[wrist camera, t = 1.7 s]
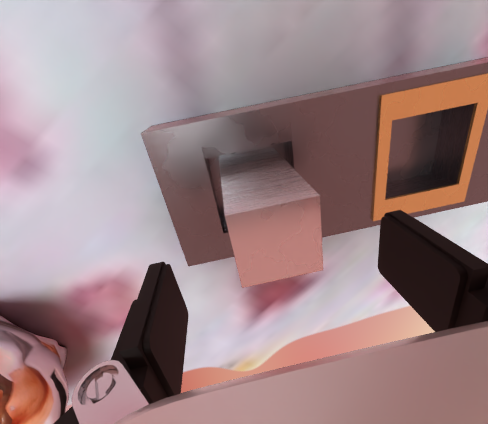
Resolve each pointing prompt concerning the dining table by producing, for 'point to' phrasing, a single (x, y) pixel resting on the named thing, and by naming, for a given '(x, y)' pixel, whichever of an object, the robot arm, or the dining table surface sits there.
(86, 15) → the dining table surface
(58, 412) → the lucky cat figurine
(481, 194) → the hole rail
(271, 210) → the steel peg
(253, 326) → the dining table surface
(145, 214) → the dining table surface
